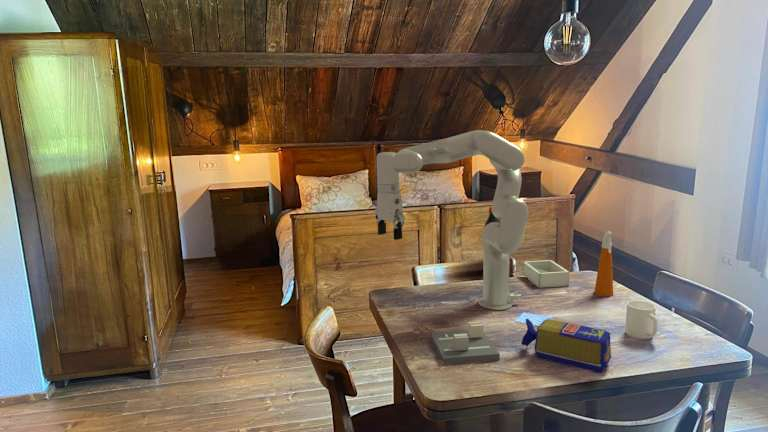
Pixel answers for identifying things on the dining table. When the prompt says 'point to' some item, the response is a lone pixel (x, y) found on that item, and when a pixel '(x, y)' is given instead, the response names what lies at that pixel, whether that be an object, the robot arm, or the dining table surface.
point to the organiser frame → (551, 278)
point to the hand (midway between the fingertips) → (389, 236)
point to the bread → (570, 344)
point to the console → (477, 350)
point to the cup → (641, 320)
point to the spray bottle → (605, 268)
